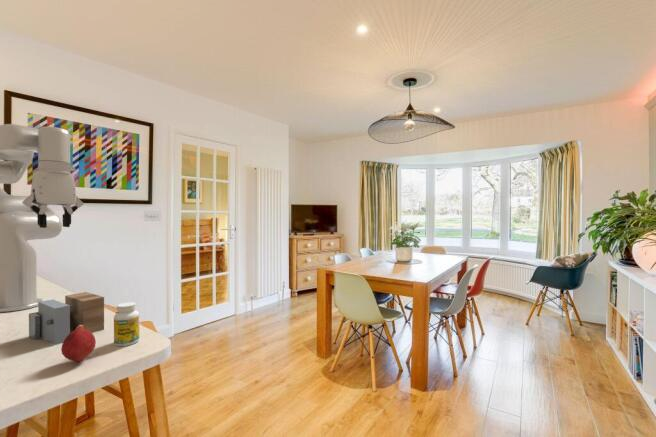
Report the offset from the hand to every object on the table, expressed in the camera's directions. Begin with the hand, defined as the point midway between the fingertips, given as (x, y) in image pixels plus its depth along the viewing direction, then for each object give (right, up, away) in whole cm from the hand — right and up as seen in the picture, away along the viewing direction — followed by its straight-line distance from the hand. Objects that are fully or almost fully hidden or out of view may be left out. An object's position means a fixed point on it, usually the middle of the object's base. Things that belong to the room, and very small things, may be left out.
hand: (54, 226), depth 99 cm
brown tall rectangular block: (+17, -28, -11) cm, 35 cm away
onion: (+31, -29, -30) cm, 51 cm away
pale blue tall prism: (+15, -28, -17) cm, 36 cm away
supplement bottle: (+34, -29, -19) cm, 49 cm away
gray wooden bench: (+11, -28, -14) cm, 33 cm away
